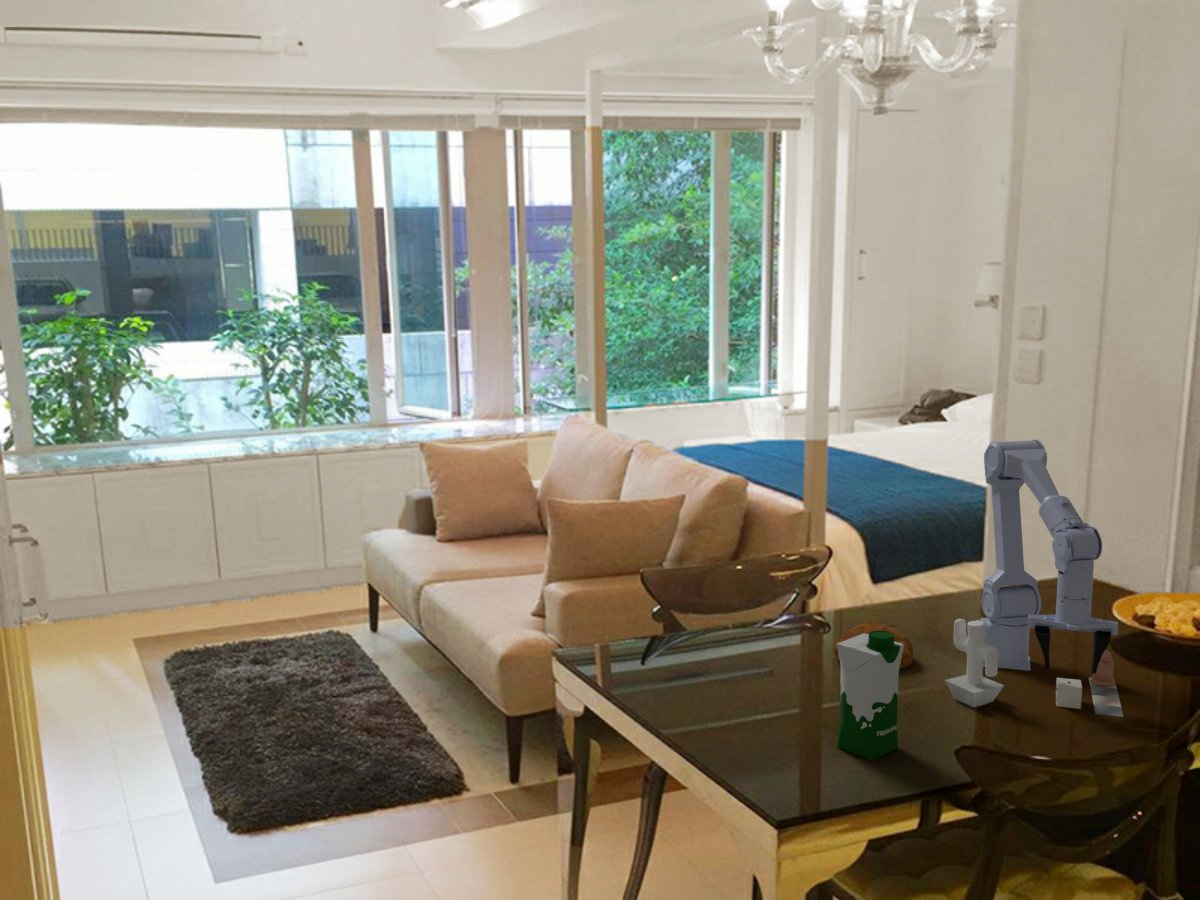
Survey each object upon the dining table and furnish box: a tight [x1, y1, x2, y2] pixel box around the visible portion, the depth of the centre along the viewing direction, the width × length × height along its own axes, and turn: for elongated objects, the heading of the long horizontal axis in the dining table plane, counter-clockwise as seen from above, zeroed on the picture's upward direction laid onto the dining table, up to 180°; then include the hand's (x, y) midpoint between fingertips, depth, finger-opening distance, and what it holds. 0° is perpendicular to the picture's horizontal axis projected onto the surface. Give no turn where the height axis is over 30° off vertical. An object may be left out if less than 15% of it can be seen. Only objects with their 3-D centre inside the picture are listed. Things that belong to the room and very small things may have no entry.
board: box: [1088, 677, 1124, 718], centre depth 213 cm, size 14×19×1 cm
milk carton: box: [836, 630, 904, 761], centre depth 191 cm, size 9×9×20 cm
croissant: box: [831, 621, 914, 669], centre depth 233 cm, size 15×16×8 cm
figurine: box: [944, 618, 1005, 708], centre depth 210 cm, size 7×9×15 cm
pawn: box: [1089, 649, 1116, 687], centre depth 217 cm, size 4×4×6 cm
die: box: [1054, 677, 1083, 710], centre depth 208 cm, size 4×4×4 cm
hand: (1070, 669), depth 207 cm, fingers open, 7 cm apart
